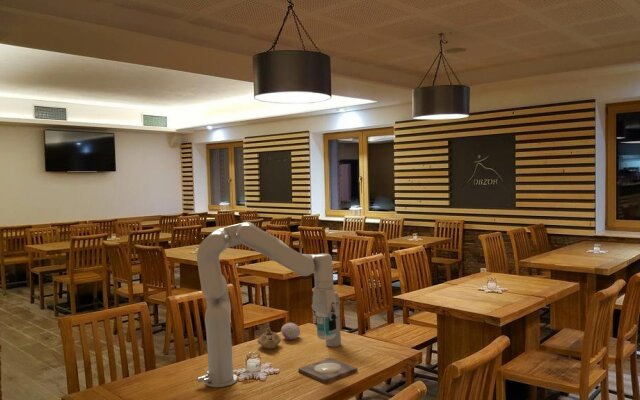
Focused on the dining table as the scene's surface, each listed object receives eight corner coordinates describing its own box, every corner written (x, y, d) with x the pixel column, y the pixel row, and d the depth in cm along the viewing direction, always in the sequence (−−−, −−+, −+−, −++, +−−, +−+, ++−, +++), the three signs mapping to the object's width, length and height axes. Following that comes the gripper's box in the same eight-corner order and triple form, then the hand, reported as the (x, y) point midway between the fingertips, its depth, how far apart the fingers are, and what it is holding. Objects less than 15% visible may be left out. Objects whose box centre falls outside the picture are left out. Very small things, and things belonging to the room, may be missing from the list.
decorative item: (296, 323, 265) (292, 313, 258) (305, 340, 257) (301, 330, 250) (280, 331, 263) (276, 321, 256) (288, 349, 256) (284, 338, 249)
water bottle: (326, 342, 248) (323, 290, 247) (342, 342, 247) (340, 290, 246) (323, 348, 239) (321, 295, 238) (340, 348, 238) (338, 295, 237)
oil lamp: (263, 354, 235) (262, 337, 235) (254, 345, 249) (254, 328, 249) (286, 350, 239) (285, 333, 239) (276, 341, 253) (275, 325, 253)
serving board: (325, 383, 199) (325, 379, 198) (298, 372, 212) (298, 367, 212) (357, 371, 209) (357, 367, 209) (330, 361, 222) (329, 357, 222)
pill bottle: (336, 334, 213) (334, 302, 213) (335, 340, 206) (333, 306, 205) (318, 334, 214) (316, 302, 213) (316, 340, 207) (314, 307, 206)
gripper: (303, 283, 213) (305, 325, 214) (331, 289, 200) (333, 334, 201) (317, 280, 218) (319, 321, 219) (345, 285, 205) (347, 329, 205)
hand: (326, 327), depth 210 cm, fingers closed on pill bottle, 7 cm apart
